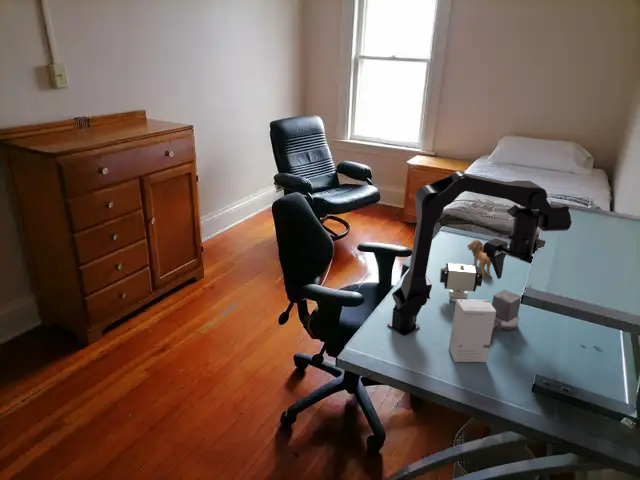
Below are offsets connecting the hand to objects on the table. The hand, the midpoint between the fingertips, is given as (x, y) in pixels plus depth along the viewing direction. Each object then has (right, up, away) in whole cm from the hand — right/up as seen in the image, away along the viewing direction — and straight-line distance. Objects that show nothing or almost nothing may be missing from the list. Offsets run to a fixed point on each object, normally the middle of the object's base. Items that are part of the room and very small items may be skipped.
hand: (514, 284), depth 126 cm
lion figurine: (+2, +2, +35) cm, 36 cm away
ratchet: (-6, -13, +2) cm, 14 cm away
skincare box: (-15, -17, -8) cm, 24 cm away
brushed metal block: (-1, -9, +4) cm, 10 cm away
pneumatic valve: (-10, -6, +17) cm, 21 cm away
